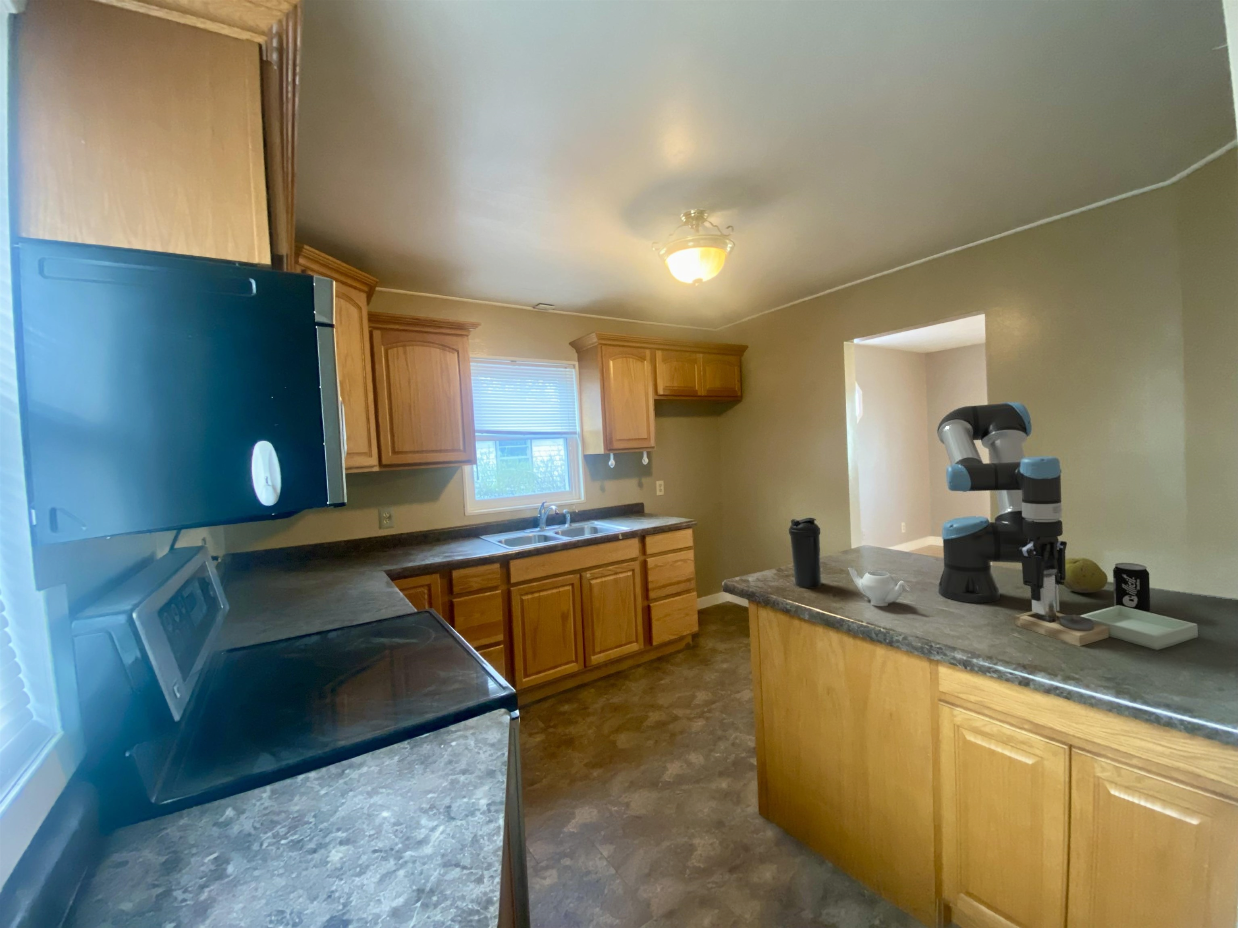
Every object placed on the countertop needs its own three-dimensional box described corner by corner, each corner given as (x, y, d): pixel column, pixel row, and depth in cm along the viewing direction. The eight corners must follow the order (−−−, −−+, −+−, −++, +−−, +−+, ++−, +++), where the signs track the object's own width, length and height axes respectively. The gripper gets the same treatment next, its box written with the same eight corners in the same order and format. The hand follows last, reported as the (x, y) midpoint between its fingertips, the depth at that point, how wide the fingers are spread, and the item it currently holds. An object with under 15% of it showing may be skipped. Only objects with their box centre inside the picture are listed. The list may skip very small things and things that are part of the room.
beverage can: (1157, 615, 126) (1156, 568, 125) (1127, 615, 127) (1125, 569, 126) (1136, 605, 132) (1135, 561, 131) (1107, 606, 133) (1106, 562, 133)
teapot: (902, 616, 138) (900, 584, 138) (840, 598, 156) (838, 569, 156) (922, 608, 143) (920, 576, 142) (860, 591, 161) (858, 563, 160)
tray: (1079, 627, 123) (1079, 615, 122) (1118, 616, 127) (1118, 605, 127) (1157, 650, 109) (1156, 636, 109) (1197, 636, 113) (1197, 624, 113)
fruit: (1050, 593, 145) (1049, 560, 145) (1062, 583, 152) (1061, 551, 152) (1103, 602, 136) (1101, 566, 136) (1112, 591, 143) (1111, 557, 143)
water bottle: (828, 587, 167) (824, 520, 166) (798, 589, 168) (793, 522, 166) (817, 578, 178) (812, 515, 176) (788, 581, 178) (784, 517, 176)
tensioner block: (1015, 625, 127) (1014, 606, 127) (1042, 617, 130) (1041, 599, 130) (1079, 646, 114) (1078, 624, 113) (1108, 637, 116) (1108, 616, 116)
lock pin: (1029, 625, 126) (1026, 567, 125) (1042, 621, 128) (1040, 564, 127) (1050, 632, 122) (1047, 572, 121) (1063, 628, 123) (1061, 568, 122)
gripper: (1034, 525, 117) (1038, 622, 118) (1083, 516, 122) (1086, 609, 123) (1001, 521, 124) (1005, 612, 126) (1049, 512, 129) (1052, 600, 130)
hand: (1045, 610), depth 124 cm, fingers closed on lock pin, 4 cm apart
